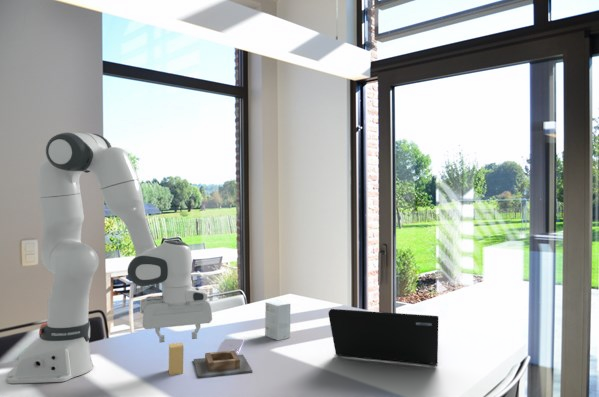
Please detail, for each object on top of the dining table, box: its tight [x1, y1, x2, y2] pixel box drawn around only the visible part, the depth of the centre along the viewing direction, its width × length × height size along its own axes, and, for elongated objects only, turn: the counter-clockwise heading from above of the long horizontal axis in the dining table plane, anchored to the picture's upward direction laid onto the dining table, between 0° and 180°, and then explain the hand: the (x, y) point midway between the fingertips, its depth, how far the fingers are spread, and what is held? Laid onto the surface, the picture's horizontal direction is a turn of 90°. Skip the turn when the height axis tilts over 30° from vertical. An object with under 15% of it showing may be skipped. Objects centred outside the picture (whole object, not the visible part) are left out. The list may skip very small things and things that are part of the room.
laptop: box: [328, 308, 439, 365], centre depth 155 cm, size 33×38×19 cm
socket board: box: [193, 350, 253, 379], centre depth 143 cm, size 16×15×3 cm
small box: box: [264, 300, 291, 341], centre depth 175 cm, size 8×6×13 cm
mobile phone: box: [216, 338, 245, 355], centre depth 162 cm, size 8×1×15 cm
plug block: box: [168, 342, 184, 376], centre depth 138 cm, size 4×4×8 cm
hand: (178, 340), depth 138 cm, fingers open, 8 cm apart
